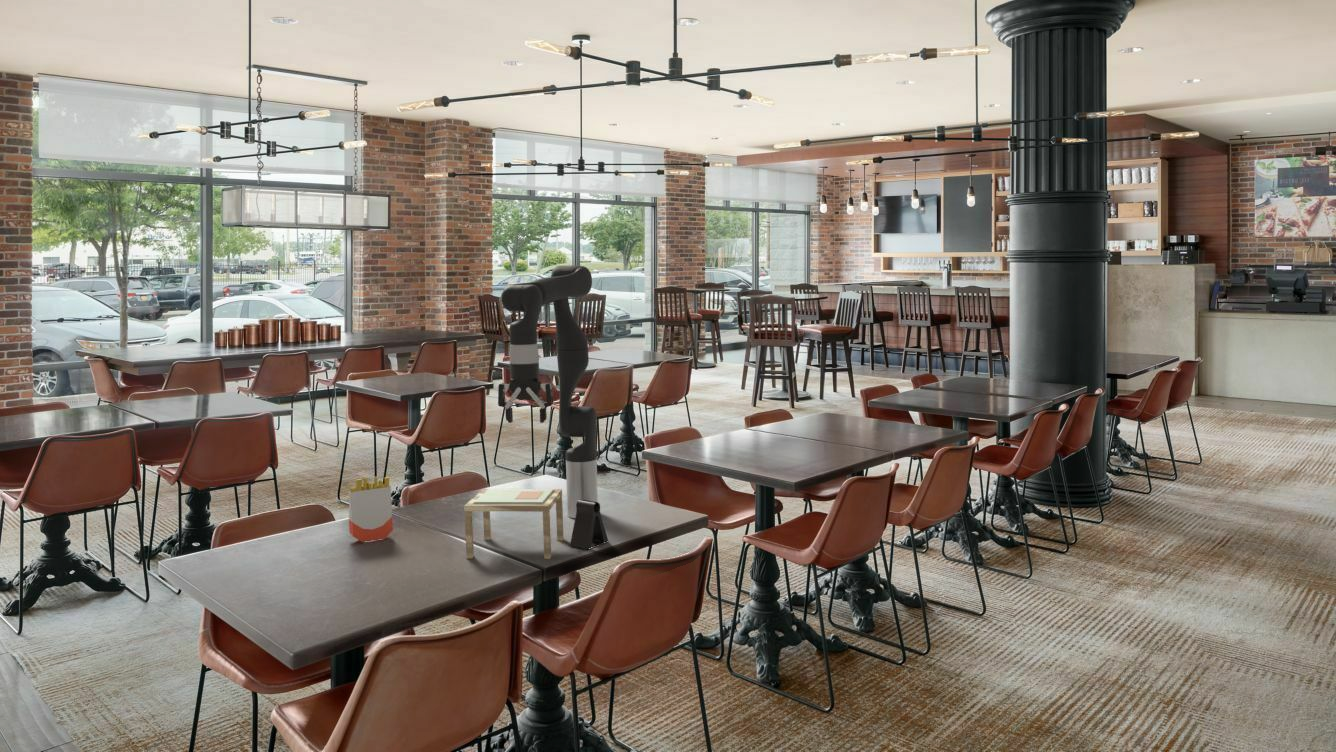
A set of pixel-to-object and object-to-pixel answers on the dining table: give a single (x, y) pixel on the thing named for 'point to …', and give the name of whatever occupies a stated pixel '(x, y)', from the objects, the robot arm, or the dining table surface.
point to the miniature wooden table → (486, 509)
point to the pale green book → (514, 496)
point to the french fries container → (370, 510)
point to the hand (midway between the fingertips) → (526, 422)
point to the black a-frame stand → (588, 526)
